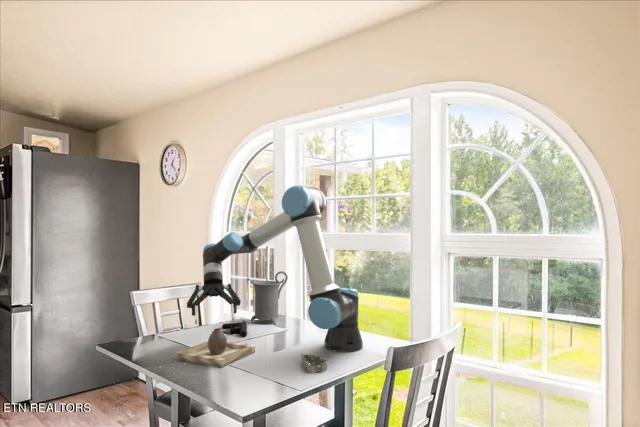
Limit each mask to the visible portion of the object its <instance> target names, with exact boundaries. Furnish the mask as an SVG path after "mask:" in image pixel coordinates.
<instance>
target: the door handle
mask: <svg viewBox="0 0 640 427" xmlns="http://www.w3.org/2000/svg"><path fill="white" fill-rule="evenodd" d="M222 328H223V329H222ZM228 328H230V329H228ZM221 330H222V332H223V333H224V334H229V335H230V336H234V335H233V334H240V335H239V336H241V337H242V338H245V337H247V335H248V323H247V322H246V321H245V320H244V321H241V322H230V323H223V324H222V325H221ZM213 331H214V330H213ZM213 331H212V332H211V334H212V333H213Z"/></svg>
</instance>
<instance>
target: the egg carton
mask: <svg viewBox="0 0 640 427" xmlns="http://www.w3.org/2000/svg"><path fill="white" fill-rule="evenodd" d="M300 357H301V365H304V366H303V367H305V368H307V369H306V372H307V371H310V372H309V373H311V372H315V371H316V372H318V371H317V370H320V371H319V372H321V371H325V370H326V369H327V368H328V364H327V362H328V359H327V357H326V358H325V357H321V355H319V354H317V355H315V354H304V353H301V354H300ZM317 362H319V363H317ZM309 363H310V364H309ZM305 368H304V369H305ZM327 370H328V369H327ZM327 370H326V371H327ZM326 371H325V372H326ZM316 372H315V373H316Z"/></svg>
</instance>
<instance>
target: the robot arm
mask: <svg viewBox="0 0 640 427" xmlns="http://www.w3.org/2000/svg"><path fill="white" fill-rule="evenodd" d="M281 207H282V210H283V212H281V213H279V214H277V215H276V216H274V217H273V218H271V219H270V220H268V221H266V222H265V223H263V224H261V225H259V226H258V227H257V228H254V229H253V230H251V231H250V232H248V233H246V234H245V235H240V234H239V233H237V232H235V231H231V232H229V233H228V234H226V235H224V237H223V238H221V240H219V241H218V242H217V243H210V244H206V245H205V246H204V247H203V249H202V265H203V267H202V268H203V272H202V274H203V285H202V286H201V285H199V284H196V285H195V289H194V291H192V294H191V296H190V297H189V299H188V300H187V302H186V308H187V309H191V316H193V317H194V325H198V306H199V305H200V304H201V303H202V302H203V301H204V300H205V299H207V297H220V298H222V299H223V300H225V301H226V303H228V304H229V305H230V312H231V323H235V314H237V311H238V310H237V306H241V303H242V302H241V301H242V300H241V299H240V297H239V296H238V294H237V293H236V291H235V290H234V289H233V288H232V284H231V283H228V284H227V285H224V282H223V266H222V263H223V261H226V260H227V259H228V258H229V257H231V256H232V255H239V254H240V255H241V254H252V253H255V252H256V251H257V250H258V249H259V247H261V246H263V245H264V244H266V243H268V242H269V241H272V240H273V239H275V238H277V237H278V236H279V235H281V234H284V233H286V232H287V231H288V230H290V229H293V228H296V231H297V234H298V237H299V242H300V245H301V246H300V247H301V250H302V253H303V258H304V263H305V267H306V270H307V271H306V272H307V274H308V278H309V282H310V287H311V291H310V293H309V294H308V297H309V300H310V304H309V306H308V310H307V313H308V317H309V319H310V322H312V324H313V325H314V326H316V327H317V328H319V329H321V330H327V331H326V335H325V339H324V341H323V342H324V348H325V349H327V350H329V349H330V351H333V350H335V351H334V352H342V351H348V352H355V351H360V350H361V349H363V344H364V343H363V337H362V335H361V332H360V329H359V299H360V298H359V291H358V290H357V289H356V288H345V287H343V288H342V287H340V286H339V285H338V284H335V282H334V277H333V273H332V270H331V266H330V261H329V258H328V255H327V254H328V253H327V250H326V246H325V241H324V239H323V234H322V230H321V227H320V222H319V221H320V220H321V218H322V214H323V212H324V211H325V210H326V207H327V199H326V196H325V194H324V193H323V191H322V190H320V189H319V188H316V187H310V186H307V185H306V186H305V185H301V184H300V185H293V186H290V187H288V188H287V189H286V191H285V192H284V194H283V195H282V197H281ZM225 290H226V291H225ZM201 291H203V292H202V293H201V294H200V295H199V293H200V292H201ZM226 292H228V293H226ZM198 295H199V296H198Z"/></svg>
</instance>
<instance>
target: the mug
mask: <svg viewBox="0 0 640 427" xmlns="http://www.w3.org/2000/svg"><path fill="white" fill-rule="evenodd" d="M280 274H283V275H284V276H285V278H282V280H280V281H279V280H278V275H280ZM274 278H275V279H274V280H261V281H260V280H259V281H254V282H252V285H253V286H254V315H252V317H251V318H250V321H251V322H250V323H253V321H254V320H261V321H268V320H269V321H271V322H272V324H273V325H274V326H276V320H277V319H279V299H280V295H281V292H282V290H283V287H284V286H285V284H286V283H287V282H288V278H289V277H288V274H287V273H286V272H285V271H278V272H276V274H275V275H274ZM280 285H281V286H280Z"/></svg>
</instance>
